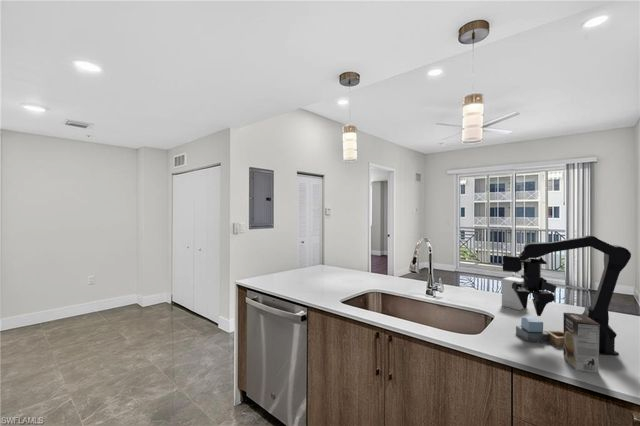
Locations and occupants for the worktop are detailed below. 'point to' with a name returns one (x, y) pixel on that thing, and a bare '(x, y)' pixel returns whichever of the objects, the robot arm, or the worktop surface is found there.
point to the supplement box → (510, 293)
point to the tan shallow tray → (556, 338)
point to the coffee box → (581, 342)
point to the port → (532, 335)
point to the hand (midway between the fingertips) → (531, 311)
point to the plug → (532, 324)
